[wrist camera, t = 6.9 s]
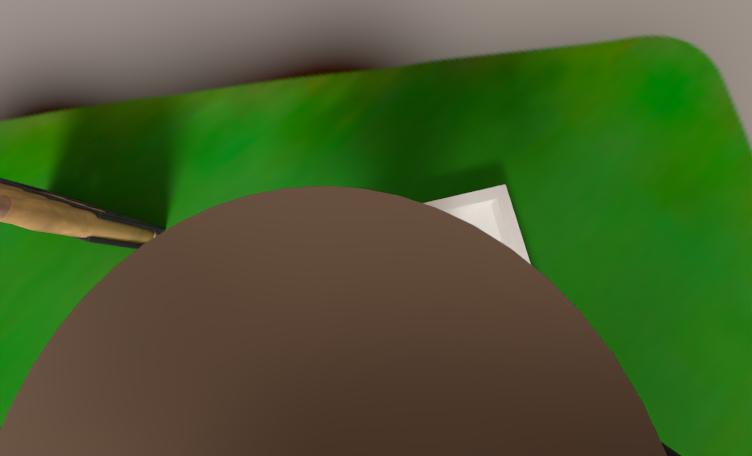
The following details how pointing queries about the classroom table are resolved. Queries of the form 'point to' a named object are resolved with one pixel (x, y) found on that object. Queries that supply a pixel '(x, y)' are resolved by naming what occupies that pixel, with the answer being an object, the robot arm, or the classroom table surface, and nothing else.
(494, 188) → the white rectangular tray
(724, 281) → the classroom table surface
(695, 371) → the classroom table surface
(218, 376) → the brown wooden spool
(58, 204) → the ammunition clip
